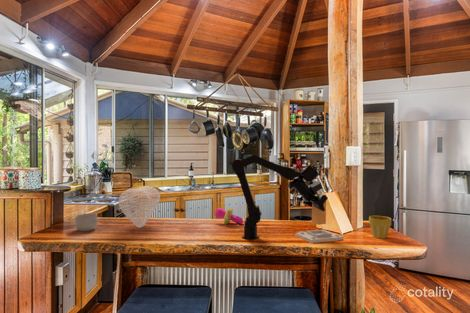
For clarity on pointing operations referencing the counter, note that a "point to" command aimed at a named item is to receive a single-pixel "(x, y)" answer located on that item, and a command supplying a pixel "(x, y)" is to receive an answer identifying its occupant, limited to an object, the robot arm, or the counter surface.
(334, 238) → the baseplate
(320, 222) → the column brick
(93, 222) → the teacup
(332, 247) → the counter surface
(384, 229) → the plant pot
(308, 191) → the robot arm
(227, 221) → the toy
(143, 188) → the heart
